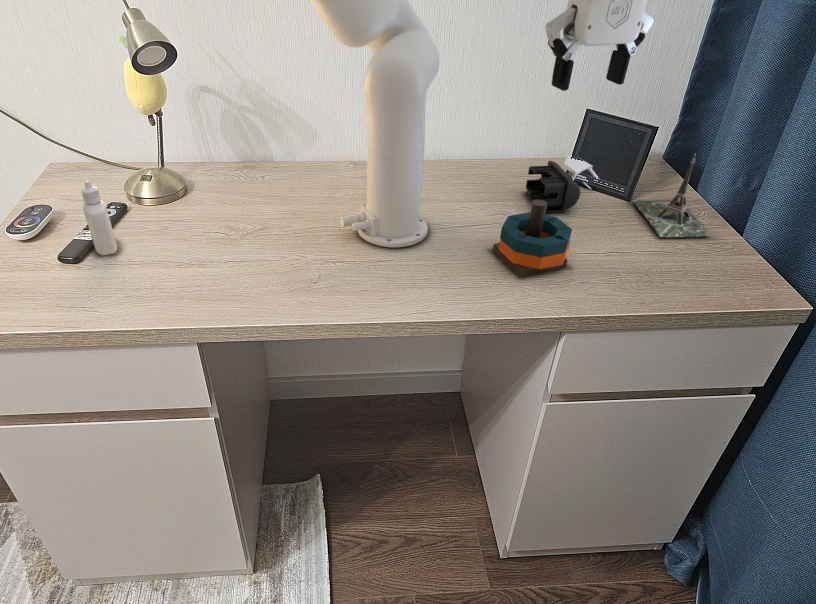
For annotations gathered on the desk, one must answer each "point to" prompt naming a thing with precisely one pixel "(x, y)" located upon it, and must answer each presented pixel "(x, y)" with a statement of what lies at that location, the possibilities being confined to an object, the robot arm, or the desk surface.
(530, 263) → the orange ring
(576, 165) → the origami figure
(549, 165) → the end cap
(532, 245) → the teal ring
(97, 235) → the eye dropper bottle
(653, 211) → the eiffel tower figurine
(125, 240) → the desk surface
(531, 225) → the peg stand
